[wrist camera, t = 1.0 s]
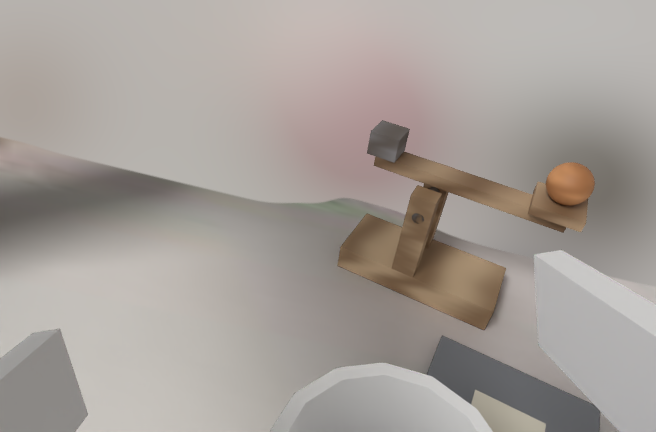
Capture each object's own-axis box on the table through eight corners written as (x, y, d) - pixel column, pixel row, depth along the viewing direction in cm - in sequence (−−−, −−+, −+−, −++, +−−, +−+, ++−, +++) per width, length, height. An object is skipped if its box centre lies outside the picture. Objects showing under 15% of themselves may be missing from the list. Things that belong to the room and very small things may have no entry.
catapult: (337, 265, 42) (361, 117, 33) (363, 231, 47) (390, 91, 37) (517, 345, 37) (607, 196, 28) (527, 298, 41) (608, 155, 32)
